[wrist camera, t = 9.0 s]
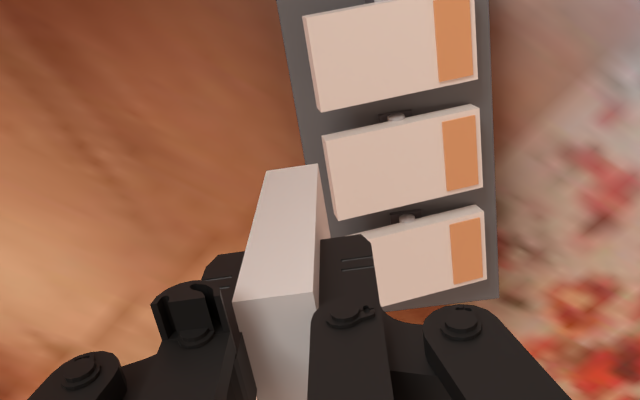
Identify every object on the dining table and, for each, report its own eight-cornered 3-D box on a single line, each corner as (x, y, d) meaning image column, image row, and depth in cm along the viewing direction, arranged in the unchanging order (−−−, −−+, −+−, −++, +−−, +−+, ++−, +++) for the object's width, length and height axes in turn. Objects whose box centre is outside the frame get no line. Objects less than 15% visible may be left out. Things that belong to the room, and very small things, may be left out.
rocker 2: (331, 211, 43) (339, 224, 41) (318, 129, 40) (325, 139, 38) (470, 179, 44) (484, 190, 42) (465, 98, 42) (480, 105, 39)
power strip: (332, 286, 53) (333, 321, 48) (268, -80, 41) (260, -83, 36) (484, 267, 52) (500, 301, 47) (466, -115, 40) (486, -123, 35)
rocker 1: (314, 108, 39) (322, 116, 37) (299, 11, 37) (305, 14, 35) (463, 76, 41) (479, 82, 39) (458, -19, 38) (474, -18, 36)
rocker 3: (346, 301, 46) (354, 317, 44) (335, 230, 43) (342, 244, 41) (474, 268, 47) (487, 282, 45) (470, 198, 45) (484, 209, 43)
